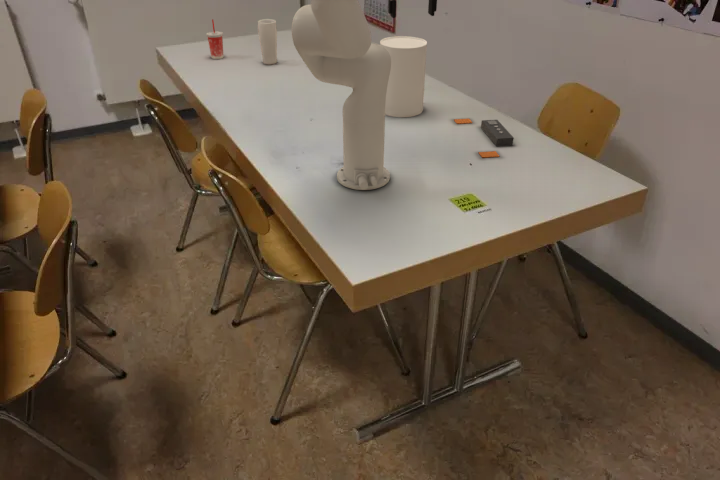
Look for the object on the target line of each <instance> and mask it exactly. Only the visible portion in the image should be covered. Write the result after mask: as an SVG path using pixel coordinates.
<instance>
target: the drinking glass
mask: <svg viewBox="0 0 720 480" xmlns="http://www.w3.org/2000/svg"><path fill="white" fill-rule="evenodd" d="M277 28H278V27H277V20H276V19H271V18H263V19H259V20H257V34H258V39H259V45H260V50H261V58H262V63H263V64H264V65H275V64H278V63H277V62H278V29H277Z"/></svg>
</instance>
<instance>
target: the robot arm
mask: <svg viewBox="0 0 720 480" xmlns="http://www.w3.org/2000/svg"><path fill="white" fill-rule="evenodd" d="M387 1H388V3H387V4H388V5H387V12H388V14H389V15H390V17H391V18H392V19H395V18H396V17H397V0H387ZM427 6H428V7H427V13H428V15H430V16H431V17H434V16H435V14H436V13H435V12H437V9H438V0H428V5H427ZM291 39H292V43H293V45H294V48H295V49H296V52H297V53H298V55H299V57H300V58H301V59H302V61H303V62H304V64H305V66H306V68H307V69H308V70H309V71H310V73H311V74H312V75H313V77H314V78H315V79H316V80H318V81H319V82H322V83H326V84H330V85H338V86H343V87H348V88H351V89H352V92H351V94H349V95H348V97H347V98H346V99H345V101H344V102H343V105H342V151H343V152H342V154H343V156H342V158H343V160H342V161H343V163H342V164H343V166H342V167H341V168H339V169H338V171H337V173H336V179H337V182H338V183H339V184H340V185H341V186H343V187H344V188H345V187H346V188H348V189H351V190H355V191H356V190H357V191H370V190H376V189H380V188H382V187H384V186H386V185H387V184H388V183H389V182H390V179H391V173H390V170H389V169H387V168H386V167H385V138H386V137H385V135H386V134H385V133H386V132H385V131H386V115H385V104H386V92H387V85H388V80H389V75H390V70H391V56H390V54H389V52H388V51H387V50H386V49H385V48H384V47H383V46H381V45H380V44H378V43H375V42H372V32H371V28H370V25H369V23H368V20H367V18H366V16H365V13H364V11H363V9H362V6H361V4H360V2H359V0H310V4H305V5H303V6H301V7H299V8H298V9H297V11H296V12H295V13H294V16H293V18H292V22H291Z"/></svg>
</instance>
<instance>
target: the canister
mask: <svg viewBox="0 0 720 480" xmlns="http://www.w3.org/2000/svg"><path fill="white" fill-rule="evenodd" d="M379 45H381V46H383V47H384V48H385V49H386V50H387V51H388V52H389V54H390V56H391V70H390V75H389V80H388V85H387V92H386V104H385V116H388V117H392V118H393V117H394V118H410V117H416V116H418V115H421V114H422V113H423V112H424V100H425V99H424V97H425V85H426V84H425V83H426V69H427V68H426V67H427V50H428V41H427V40H425V39H423V38H420V37H417V36H409V35H407V36H406V35H397V36H394V35H393V36H388V37H384V38H382V39H380V41H379Z"/></svg>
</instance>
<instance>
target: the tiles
mask: <svg viewBox="0 0 720 480" xmlns="http://www.w3.org/2000/svg"><path fill="white" fill-rule="evenodd" d="M453 121H454V122H455V124H456V125H464V124H473V121H472V120H471V119H470V118H455V119H453ZM478 154H479V156H480V157H481V158H482V159H491V158H500V155H499V154H498V152H497V151H496V150H492V151H479V152H478Z"/></svg>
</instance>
